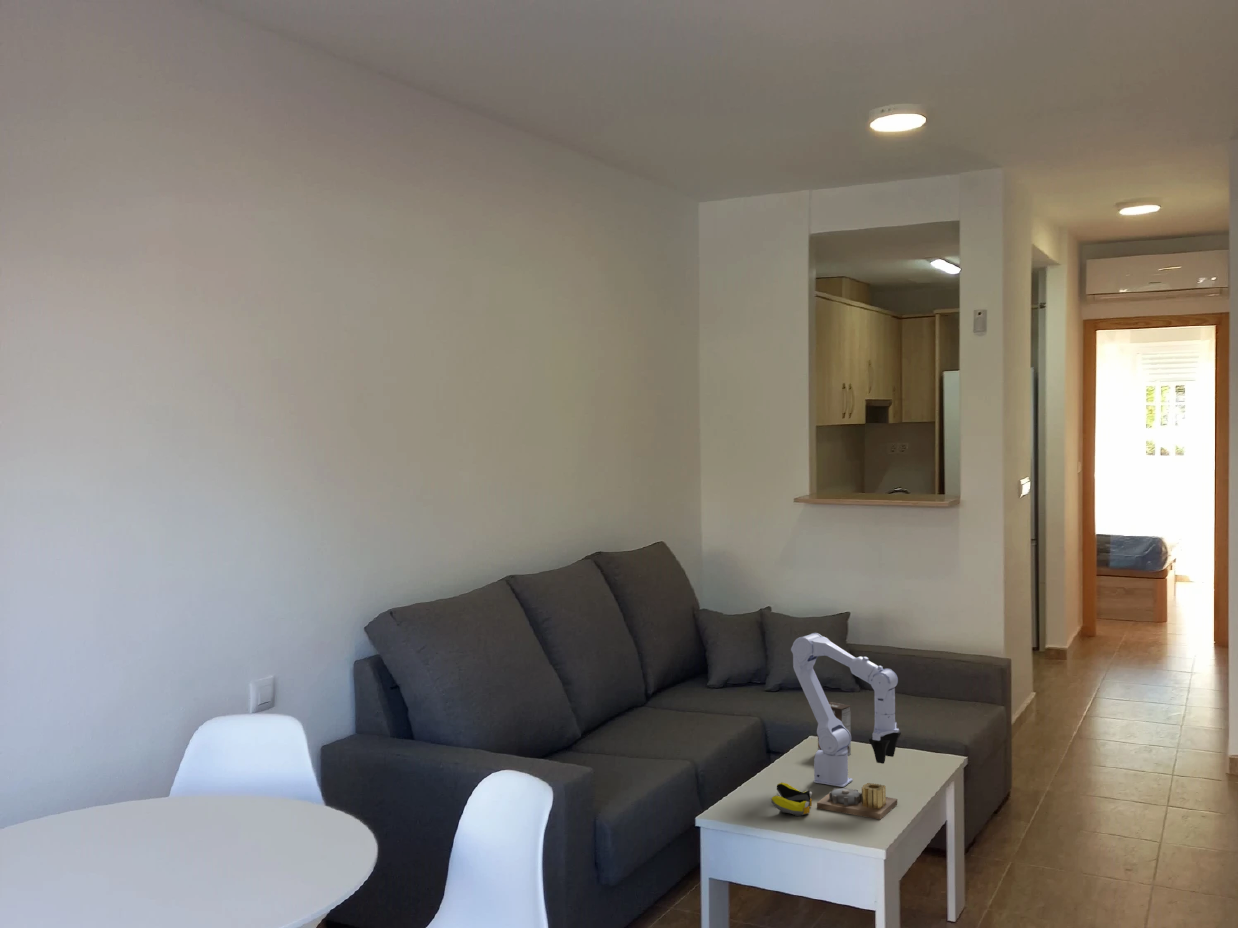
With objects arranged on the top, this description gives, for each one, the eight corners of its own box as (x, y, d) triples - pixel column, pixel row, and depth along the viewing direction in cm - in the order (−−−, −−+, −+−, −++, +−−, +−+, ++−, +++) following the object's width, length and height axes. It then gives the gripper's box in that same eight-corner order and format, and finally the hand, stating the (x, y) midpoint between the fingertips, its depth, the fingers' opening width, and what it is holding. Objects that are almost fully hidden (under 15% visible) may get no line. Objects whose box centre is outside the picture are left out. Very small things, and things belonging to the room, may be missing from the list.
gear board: (817, 807, 298) (816, 793, 298) (835, 793, 310) (835, 779, 310) (880, 819, 289) (880, 803, 288) (897, 804, 300) (897, 789, 300)
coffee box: (816, 753, 350) (816, 704, 350) (827, 749, 355) (826, 700, 354) (841, 758, 344) (841, 708, 343) (852, 754, 349) (851, 704, 348)
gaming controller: (770, 817, 292) (808, 820, 289) (770, 797, 292) (807, 799, 289) (777, 799, 306) (813, 802, 303) (777, 780, 306) (813, 782, 303)
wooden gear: (860, 805, 295) (860, 787, 295) (867, 800, 300) (867, 782, 299) (880, 809, 292) (880, 791, 292) (887, 803, 296) (887, 785, 296)
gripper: (889, 719, 302) (889, 768, 303) (906, 708, 314) (907, 755, 315) (865, 716, 306) (865, 764, 306) (883, 705, 318) (883, 751, 319)
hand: (885, 759), depth 311 cm, fingers open, 7 cm apart
